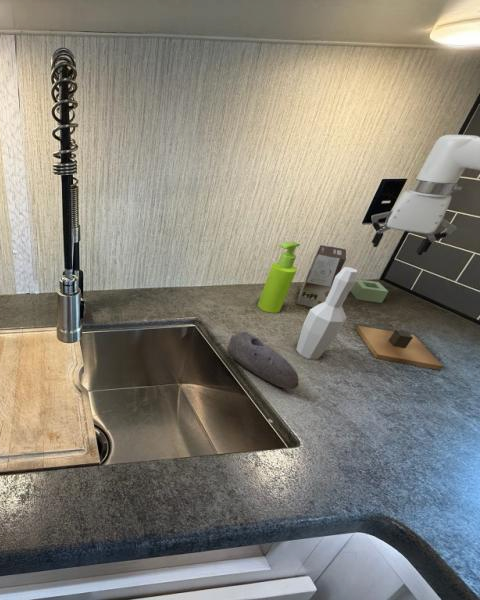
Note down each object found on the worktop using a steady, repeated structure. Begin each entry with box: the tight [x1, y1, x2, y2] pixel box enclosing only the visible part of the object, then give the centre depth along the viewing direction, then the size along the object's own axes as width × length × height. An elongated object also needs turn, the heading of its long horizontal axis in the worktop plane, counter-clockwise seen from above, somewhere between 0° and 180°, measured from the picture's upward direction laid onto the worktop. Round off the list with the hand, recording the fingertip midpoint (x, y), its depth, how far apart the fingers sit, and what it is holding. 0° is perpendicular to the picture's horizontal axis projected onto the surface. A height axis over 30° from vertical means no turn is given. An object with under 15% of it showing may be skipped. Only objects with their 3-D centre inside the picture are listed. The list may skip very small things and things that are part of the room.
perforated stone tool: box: [226, 331, 300, 390], centre depth 66 cm, size 15×5×7 cm, turn 30°
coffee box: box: [296, 244, 347, 309], centre depth 90 cm, size 9×6×16 cm
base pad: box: [355, 325, 444, 371], centre depth 75 cm, size 12×12×4 cm
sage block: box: [349, 278, 389, 304], centre depth 96 cm, size 6×6×4 cm
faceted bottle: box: [295, 266, 359, 360], centre depth 68 cm, size 6×6×22 cm
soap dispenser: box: [257, 241, 301, 314], centre depth 86 cm, size 6×7×20 cm
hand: (396, 249), depth 90 cm, fingers open, 9 cm apart
